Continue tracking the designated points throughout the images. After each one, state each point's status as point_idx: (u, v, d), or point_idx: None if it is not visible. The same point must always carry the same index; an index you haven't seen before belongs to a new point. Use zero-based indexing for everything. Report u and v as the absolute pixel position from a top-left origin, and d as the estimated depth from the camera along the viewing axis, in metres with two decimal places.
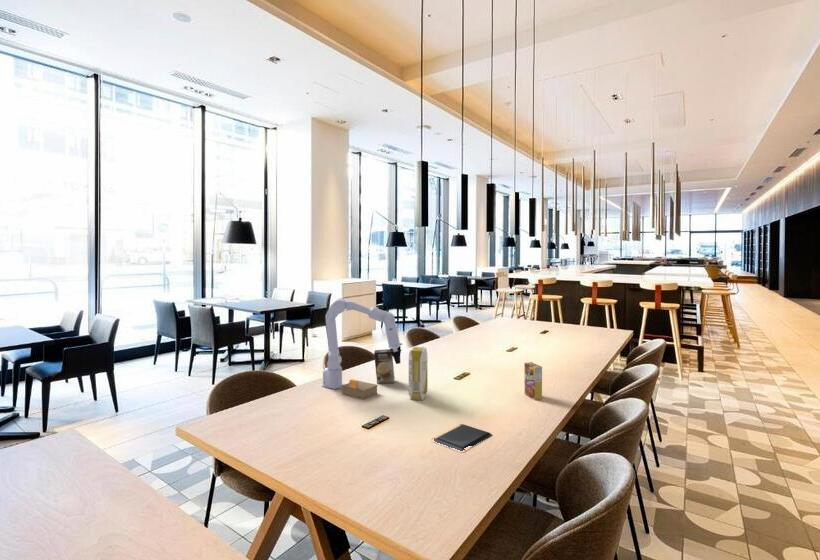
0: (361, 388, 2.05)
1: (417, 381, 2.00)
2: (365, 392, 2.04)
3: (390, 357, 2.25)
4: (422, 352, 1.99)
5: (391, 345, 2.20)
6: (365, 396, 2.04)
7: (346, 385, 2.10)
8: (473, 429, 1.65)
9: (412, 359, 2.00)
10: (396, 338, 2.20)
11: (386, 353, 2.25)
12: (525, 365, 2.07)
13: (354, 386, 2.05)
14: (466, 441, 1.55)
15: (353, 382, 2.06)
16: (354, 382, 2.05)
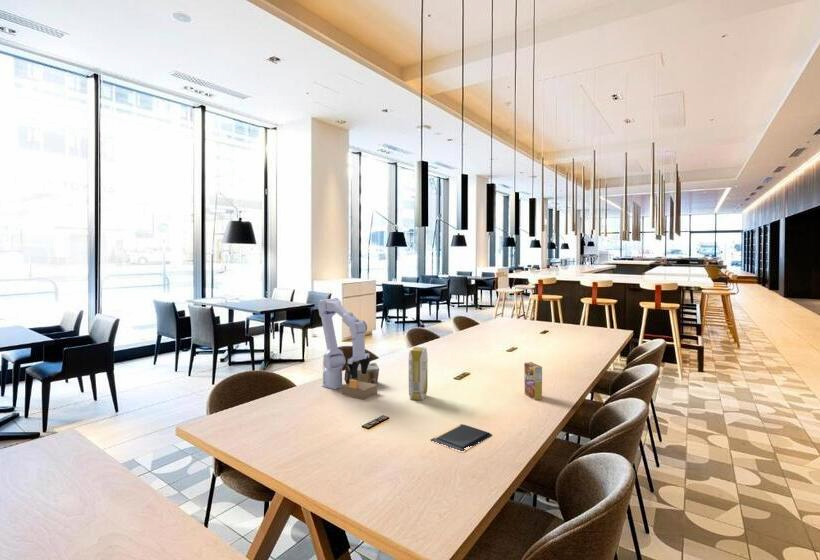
0: (361, 388, 2.05)
1: (417, 381, 2.00)
2: (365, 392, 2.04)
3: None
4: (422, 352, 1.99)
5: (353, 356, 2.05)
6: (365, 396, 2.04)
7: (346, 385, 2.10)
8: (473, 429, 1.65)
9: (412, 359, 2.00)
10: (358, 350, 2.03)
11: (349, 375, 2.18)
12: (525, 365, 2.07)
13: (354, 386, 2.05)
14: (466, 441, 1.55)
15: (353, 382, 2.06)
16: (354, 382, 2.05)
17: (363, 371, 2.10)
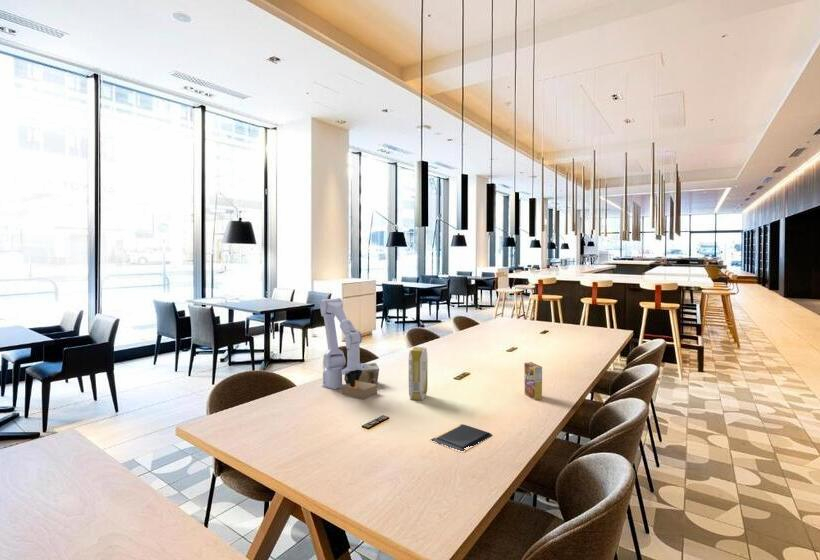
0: (361, 388, 2.05)
1: (417, 381, 2.00)
2: (365, 392, 2.04)
3: None
4: (422, 352, 1.99)
5: (347, 366, 2.05)
6: (365, 396, 2.04)
7: (346, 385, 2.10)
8: (473, 429, 1.65)
9: (412, 359, 2.00)
10: (353, 361, 2.03)
11: None
12: (525, 365, 2.07)
13: None
14: (466, 441, 1.55)
15: None
16: None
17: None
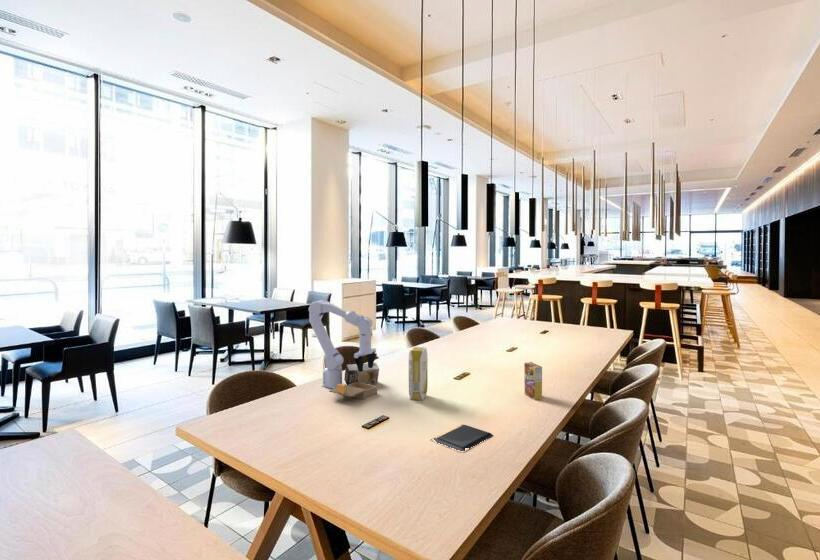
0: (349, 393, 1.98)
1: (417, 381, 2.00)
2: (365, 392, 2.04)
3: (354, 371, 2.19)
4: (422, 352, 1.99)
5: (359, 350, 2.16)
6: (365, 396, 2.04)
7: (334, 390, 2.03)
8: (474, 429, 1.65)
9: (412, 359, 2.00)
10: (365, 345, 2.14)
11: (349, 375, 2.18)
12: (525, 365, 2.07)
13: (342, 391, 1.98)
14: (467, 441, 1.55)
15: (340, 387, 1.99)
16: (342, 387, 1.98)
17: (369, 365, 2.21)
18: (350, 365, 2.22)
